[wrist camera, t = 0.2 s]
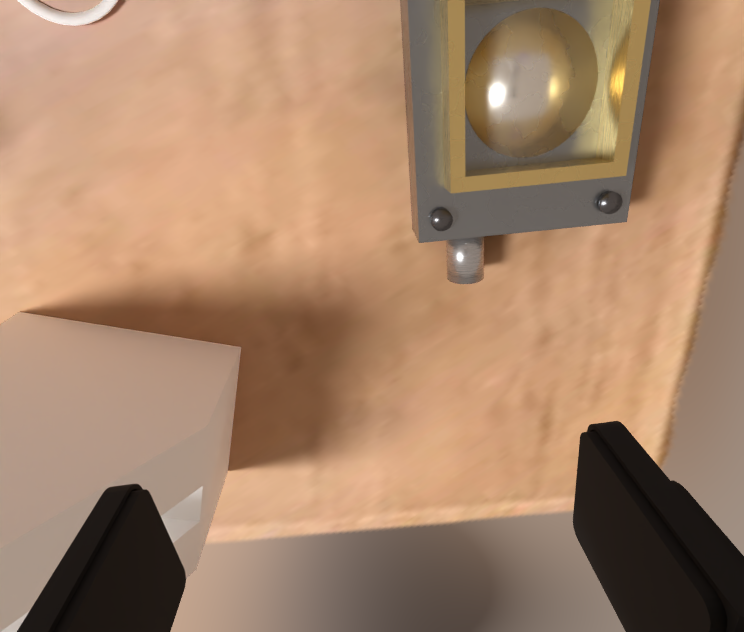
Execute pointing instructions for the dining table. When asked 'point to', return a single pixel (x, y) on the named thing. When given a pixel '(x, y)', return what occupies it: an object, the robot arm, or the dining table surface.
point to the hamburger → (67, 17)
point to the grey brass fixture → (521, 116)
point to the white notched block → (104, 438)
